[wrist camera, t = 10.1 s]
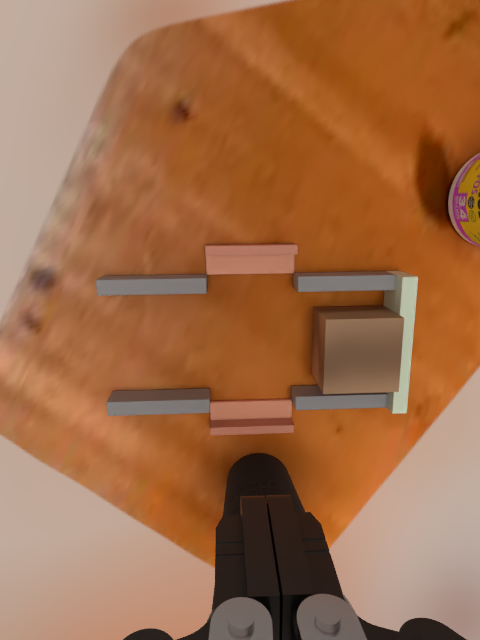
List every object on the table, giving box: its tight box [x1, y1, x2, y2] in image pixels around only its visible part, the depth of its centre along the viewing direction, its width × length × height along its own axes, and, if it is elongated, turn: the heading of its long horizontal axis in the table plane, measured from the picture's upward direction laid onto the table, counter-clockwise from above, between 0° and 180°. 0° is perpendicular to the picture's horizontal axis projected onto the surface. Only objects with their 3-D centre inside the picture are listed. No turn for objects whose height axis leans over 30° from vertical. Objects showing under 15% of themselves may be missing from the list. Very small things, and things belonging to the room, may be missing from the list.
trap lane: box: [96, 243, 397, 435], centre depth 31 cm, size 13×20×2 cm
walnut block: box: [311, 305, 404, 394], centre depth 31 cm, size 5×5×4 cm
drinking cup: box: [207, 454, 354, 621], centre depth 25 cm, size 8×8×20 cm
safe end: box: [383, 271, 418, 414], centre depth 31 cm, size 9×1×3 cm, turn 1°
